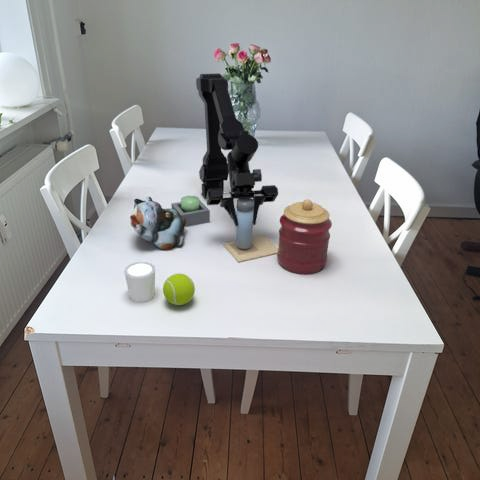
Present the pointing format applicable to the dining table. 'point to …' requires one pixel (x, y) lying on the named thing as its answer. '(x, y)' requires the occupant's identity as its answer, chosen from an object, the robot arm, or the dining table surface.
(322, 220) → the canister
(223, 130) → the robot arm
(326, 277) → the dining table surface
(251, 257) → the kraft sheet
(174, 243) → the lucky cat figurine
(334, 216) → the dining table surface
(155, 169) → the dining table surface
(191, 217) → the button box
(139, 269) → the white cylinder
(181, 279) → the tennis ball
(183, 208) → the button
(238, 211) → the water bottle
